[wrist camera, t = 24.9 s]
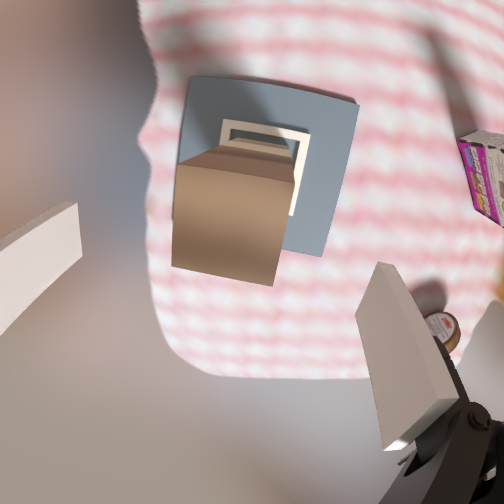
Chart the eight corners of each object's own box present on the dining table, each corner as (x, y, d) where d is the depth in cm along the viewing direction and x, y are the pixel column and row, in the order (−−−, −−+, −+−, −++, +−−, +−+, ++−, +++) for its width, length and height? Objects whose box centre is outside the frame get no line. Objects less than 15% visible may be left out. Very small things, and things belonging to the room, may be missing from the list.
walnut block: (219, 145, 23) (177, 164, 14) (291, 157, 23) (295, 183, 14) (211, 211, 25) (171, 266, 17) (277, 224, 25) (272, 286, 16)
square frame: (224, 118, 31) (223, 118, 30) (310, 134, 31) (310, 134, 30) (213, 198, 35) (211, 200, 35) (292, 213, 35) (292, 215, 34)
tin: (376, 352, 45) (386, 388, 38) (370, 342, 44) (380, 379, 37) (449, 312, 40) (468, 344, 33) (446, 300, 39) (467, 332, 32)
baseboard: (193, 76, 29) (190, 75, 29) (357, 105, 29) (359, 105, 28) (175, 225, 39) (173, 227, 38) (320, 253, 38) (321, 257, 37)
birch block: (238, 137, 32) (219, 144, 23) (289, 146, 31) (290, 157, 23) (230, 185, 34) (210, 211, 25) (279, 194, 34) (276, 224, 25)
